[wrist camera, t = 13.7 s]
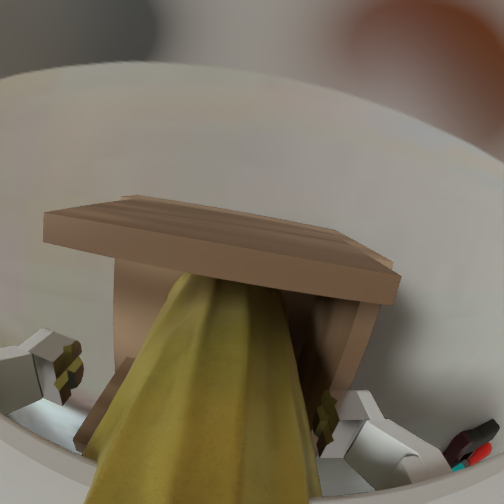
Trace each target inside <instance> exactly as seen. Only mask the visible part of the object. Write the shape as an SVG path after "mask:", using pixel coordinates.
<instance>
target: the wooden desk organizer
mask: <svg viewBox="0 0 504 504" xmlns="http://www.w3.org/2000/svg"><path fill="white" fill-rule="evenodd" d="M43 242H46V243H50V244H54V245H59V246H63V247H67V248H72V249H76V250H81V251H85V252H90V253H94V254H99V255H103V256H108V257H113V258H115V269H114V300H113V326H114V357H115V374H114V376H113V377H112V379H111V380H110V382H109V383H108V385H107V386H106V388H105V389H104V391H103V392H102V394H101V396H100V397H99V399H98V400H97V402H96V403H95V405H94V406H93V408H92V409H91V411H90V413H89V414H88V416H87V417H86V419H85V420H84V422H83V424H82V425H81V427H80V428H79V430H78V432H77V433H76V435H75V436H74V438H73V442H74V445H75V448H76V450H77V451H79V452H81V453H83V451H84V449H85V448H86V446H87V444H88V442H89V441H90V439H91V437H92V435H93V434H94V432H95V430H96V429H97V427H98V425H99V424H100V422H101V420H102V419H103V417H104V415H105V414H106V412H107V410H108V408H109V406H110V404H111V402H112V400H113V398H114V397H115V395H116V393H117V391H118V390H119V388H120V386H121V385H122V383H123V381H124V380H125V378H126V376H127V374H128V372H129V370H130V368H131V366H132V364H133V362H134V360H135V359H136V357H137V355H138V353H139V351H140V349H141V347H142V345H143V343H144V341H145V339H146V337H147V335H148V333H149V331H150V329H151V327H152V325H153V323H154V321H155V319H156V318H157V316H158V314H159V312H160V310H161V309H162V307H163V305H164V304H165V302H166V300H167V298H168V295H169V292H170V290H171V288H172V287H173V285H174V284H175V283H176V282H177V280H178V279H179V278H180V277H181V276H182V275H183V274H185V273H186V272H187V273H192V274H197V275H203V276H208V277H213V278H219V279H224V280H230V281H236V282H241V283H247V284H253V285H259V286H264V287H270V288H276V289H279V290H280V291H281V293H282V295H283V297H284V300H285V302H286V305H287V310H288V315H289V320H288V323H289V331H290V337H291V342H292V346H293V351H294V355H295V360H296V364H297V370H298V376H299V381H300V386H301V390H302V394H303V398H304V402H305V406H306V411H307V416H308V421H309V427H310V433H311V438H312V443H313V449H314V454H315V457H316V456H317V454H318V449H317V445H316V443H317V441H318V439H319V438H318V437H317V436H316V435H314V432H313V417H314V414H315V411H316V409H317V408H318V407H319V406H321V405H322V402H321V397H322V394H323V392H324V391H325V390H326V389H329V390H349V389H350V386H351V384H352V382H353V379H354V377H355V374H356V372H357V370H358V367H359V365H360V362H361V360H362V357H363V354H364V352H365V349H366V347H367V344H368V341H369V338H370V336H371V333H372V330H373V327H374V324H375V321H376V319H377V316H378V313H379V309H380V306H381V304H383V305H390V306H393V303H394V300H395V296H396V293H397V290H398V287H399V283H400V280H401V276H400V275H399V274H397V273H396V272H394V271H392V270H391V269H392V266H393V262H392V261H391V260H389V259H387V258H385V257H383V256H382V255H380V254H378V253H376V252H375V251H373V250H371V249H369V248H367V247H366V246H364V245H362V244H360V243H358V242H356V241H355V240H353V239H351V238H349V237H347V236H345V235H343V234H341V233H340V232H338V231H336V230H331V229H327V228H322V227H317V226H312V225H307V224H302V223H297V222H292V221H287V220H281V219H276V218H271V217H266V216H260V215H255V214H249V213H244V212H238V211H232V210H227V209H221V208H215V207H209V206H203V205H197V204H191V203H185V202H178V201H172V200H166V199H159V198H152V197H145V196H139V195H132V196H122V197H121V200H120V201H114V202H106V203H99V204H93V205H86V206H80V207H74V208H67V209H62V210H56V211H50V212H45V213H44V227H43Z"/></svg>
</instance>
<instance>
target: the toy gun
mask: <svg viewBox="0 0 504 504" xmlns="http://www.w3.org/2000/svg"><path fill="white" fill-rule="evenodd" d="M499 428H500V426H499V425H498V424H497V422H496V421H495V420H494V419H491V420H489V421H488V422H486V423H484V424H482V425H480V426H479V427H477V428H475V429H472V430H469V431H463V432H461V433H460V434H458V435H457V436H456V437H455V438H454V439H453V440H452V442H451V443H450V445H449V446H448V447H447V449H446V450H445V452H444V453H443V454H442V455H443V456H444V458H445V459H446V461H447V463H448V464H449V466H450V468H451V469H452V471H453V472H455V471H458V470H461V469H464V468H467V467H469V466H472V465H474V464H476V463H477V462H479V461H480V460H482V459H483V458H485V457H486V456H488V455H489V454H490V452H491V450H492V446H491V444H490V443H489V441H490V440H492V439H493V438H494V436H495V435H496V433H497V432H498V430H499Z"/></svg>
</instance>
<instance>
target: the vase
mask: <svg viewBox="0 0 504 504" xmlns="http://www.w3.org/2000/svg"><path fill="white" fill-rule="evenodd" d="M288 320H289V315H288V310H287V305H286V302H285V300H284V297H283V295H282V293H281V291H280V290H279V289H276V288H270V287H264V286H259V285H253V284H247V283H241V282H236V281H230V280H224V279H219V278H213V277H208V276H203V275H197V274H192V273H187V272H186V273H185V274H183V275H182V276H181V277H180V278H179V279H178V280H177V282H176V283H175V284H174V285H173V287H172V288H171V290H170V292H169V295H168V298H167V300H166V302H165V304H164V305H163V307H162V309H161V310H160V312H159V314H158V316H157V318H156V319H155V321H154V323H153V325H152V327H151V329H150V331H149V333H148V335H147V337H146V339H145V341H144V343H143V345H142V347H141V349H140V351H139V353H138V355H137V357H136V359H135V360H134V362H133V364H132V366H131V368H130V370H129V372H128V374H127V376H126V378H125V380H124V381H123V383H122V385H121V386H120V388H119V390H118V391H117V393H116V395H115V397H114V398H113V400H112V402H111V404H110V406H109V408H108V410H107V412H106V414H105V415H104V417H103V419H102V420H101V422H100V424H99V425H98V427H97V429H96V430H95V432H94V434H93V435H92V437H91V439H90V441H89V442H88V444H87V446H86V448H85V449H84V451H83V453H82V455H81V456H84V457H86V458H89V459H91V460H94V461H96V462H98V466H97V469H96V472H95V475H94V478H93V481H92V484H91V487H90V489H89V491H88V494H87V496H86V499H85V501H84V503H83V504H309V499H310V497H322V492H321V487H320V481H319V476H318V470H317V465H316V459H315V454H314V449H313V443H312V438H311V433H310V427H309V421H308V416H307V411H306V406H305V402H304V398H303V394H302V390H301V386H300V381H299V376H298V370H297V364H296V360H295V355H294V351H293V346H292V342H291V337H290V331H289V323H288Z"/></svg>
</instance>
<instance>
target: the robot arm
mask: <svg viewBox="0 0 504 504" xmlns="http://www.w3.org/2000/svg"><path fill="white" fill-rule="evenodd" d="M81 352H82V350H81V344H80V343H79V341H77V340H75V339H72V338H69V337H67V336H64V335H62V334H59V333H57V332H54V331H51V330H49V329H46V328H42V329H40V330H39V331H38V332H36V333H35V334H34V335H32V336H31V337H30V338H29V339H27V340H26V341H25V342H23V343H22V344H21V345H20V346H18V347H17V346H9V347H4V348H0V504H83V503H84V501H85V499H86V496H87V494H88V491H89V489H90V487H91V484H92V481H93V478H94V475H95V472H96V469H97V466H98V462H96V461H94V460H91V459H89V458H86V457H84V456H81V455H79V454H77V453H74V452H72V451H70V450H68V449H66V448H63V447H61V446H59V445H57V444H55V443H53V442H51V441H49V440H47V439H45V438H43V437H41V436H39V435H37V434H36V433H34V432H32V431H30V430H28V429H27V428H25V427H23V426H21V425H20V424H18V423H16V422H15V421H13V420H11V419H10V418H8V417H7V416H5V415H6V414H8V413H10V412H13V411H15V410H17V409H20V408H22V407H24V406H27V405H29V404H31V403H34V402H36V401H38V400H40V399H42V397H43V398H45V399H47V400H50V401H52V402H54V403H57V404H59V405H61V406H63V405H64V403H65V402H66V401H67V400H68V398H69V397H70V396H71V390H70V389H73V388H76V387H78V385H79V384H80V382H81V380H82V377H83V371H84V367H83V362H82V361H81V359H80V357H79V355H80V354H81ZM321 402H322V405H321V406H319V407H318V408H317V409H316V411H315V414H314V417H313V432H314V435H316V436H317V437H318V438H319V439H318V441H317V443H316V445H317V449H318V453H319V457H320V458H344V460H345V461H346V462H347V463H348V464H349V465H350V466H351V467H352V468H353V469H354V470H355V471H356V472H357V473H359V474H360V475H361V476H362V477H363V478H364V479H365V480H366V481H367V482H368V483H369V484H370V485H371V486H372V487H373V488H374V489H375V490H376V491H372V492H365V493H358V494H349V495H339V496H326V497H310V499H309V504H504V452H503V453H501V454H499V455H496V456H494V457H492V458H490V459H487V460H485V461H482V462H480V463H477V464H475V465H472V466H469V467H467V468H464V469H461V470H458V471H455V472H453V471H452V469H451V468H450V466H449V464H448V463H447V461H446V459H445V458H444V456H443V455H442V453H441V451H440V450H439V449H437V448H436V447H434V446H432V445H431V444H429V443H427V442H425V441H424V440H422V439H420V438H419V437H417V436H415V435H414V434H412V433H410V432H409V431H407V430H405V429H404V428H402V427H401V426H399V425H397V424H396V423H394V422H392V421H391V420H389V419H384V417H383V415H382V413H381V411H380V409H379V408H378V406H377V404H376V402H375V400H374V398H373V397H372V395H371V393H370V391H368V390H329V389H326V390H325V391H324V392H323V394H322V397H321Z"/></svg>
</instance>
